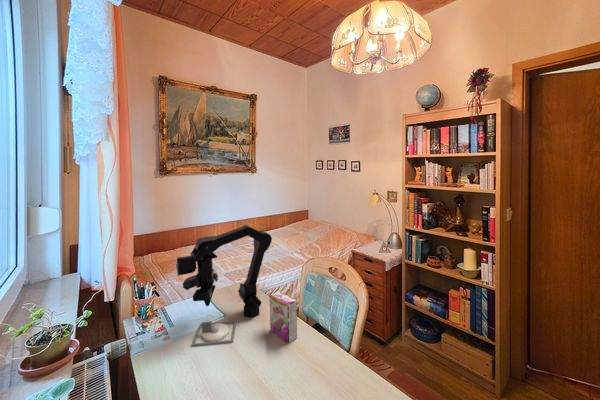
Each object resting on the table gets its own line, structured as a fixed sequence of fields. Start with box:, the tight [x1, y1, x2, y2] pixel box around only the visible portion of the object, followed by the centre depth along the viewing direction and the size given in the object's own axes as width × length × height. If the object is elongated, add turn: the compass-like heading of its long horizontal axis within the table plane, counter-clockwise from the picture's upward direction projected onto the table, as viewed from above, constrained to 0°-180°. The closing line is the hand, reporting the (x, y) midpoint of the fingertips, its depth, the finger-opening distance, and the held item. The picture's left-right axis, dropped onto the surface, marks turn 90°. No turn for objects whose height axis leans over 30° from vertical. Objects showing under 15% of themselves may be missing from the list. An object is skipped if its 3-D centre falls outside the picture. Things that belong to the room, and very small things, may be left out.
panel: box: [191, 320, 237, 348], centre depth 107 cm, size 15×13×2 cm
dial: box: [201, 320, 229, 342], centre depth 106 cm, size 10×10×5 cm
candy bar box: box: [269, 290, 298, 344], centre depth 106 cm, size 11×5×16 cm, turn 47°
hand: (207, 305), depth 109 cm, fingers closed
